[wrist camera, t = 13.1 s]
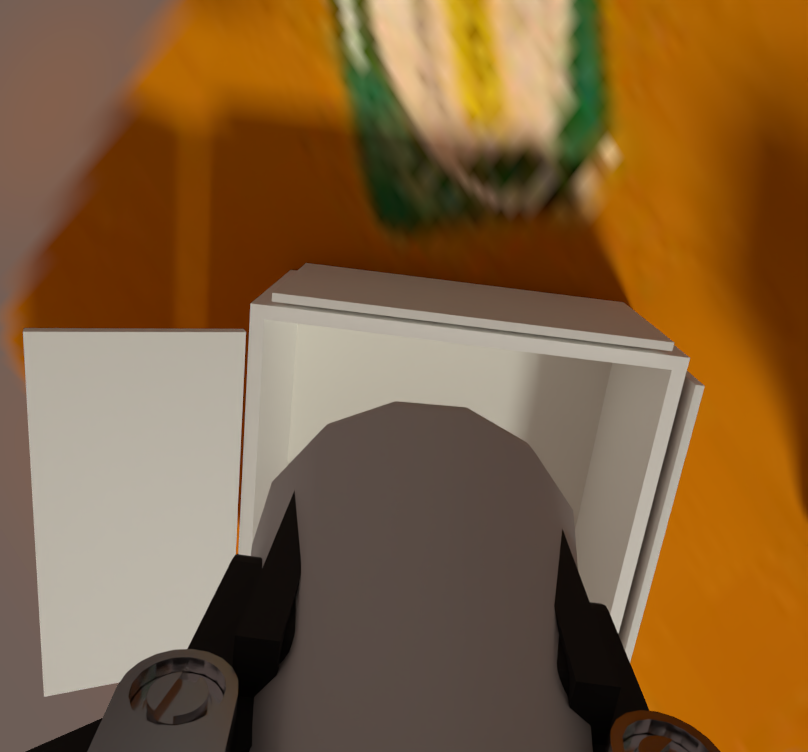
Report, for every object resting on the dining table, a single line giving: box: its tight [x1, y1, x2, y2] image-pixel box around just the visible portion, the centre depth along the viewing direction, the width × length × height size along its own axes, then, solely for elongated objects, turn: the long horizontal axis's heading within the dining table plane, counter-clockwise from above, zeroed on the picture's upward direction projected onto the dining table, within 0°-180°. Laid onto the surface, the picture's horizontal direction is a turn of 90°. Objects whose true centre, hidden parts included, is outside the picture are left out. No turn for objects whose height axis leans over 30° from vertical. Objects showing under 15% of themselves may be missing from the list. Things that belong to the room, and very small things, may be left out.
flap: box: [23, 328, 246, 696], centre depth 24 cm, size 13×6×1 cm, turn 173°
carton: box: [238, 263, 704, 662], centre depth 29 cm, size 16×16×7 cm
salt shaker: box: [249, 401, 593, 752], centre depth 9 cm, size 6×6×13 cm
